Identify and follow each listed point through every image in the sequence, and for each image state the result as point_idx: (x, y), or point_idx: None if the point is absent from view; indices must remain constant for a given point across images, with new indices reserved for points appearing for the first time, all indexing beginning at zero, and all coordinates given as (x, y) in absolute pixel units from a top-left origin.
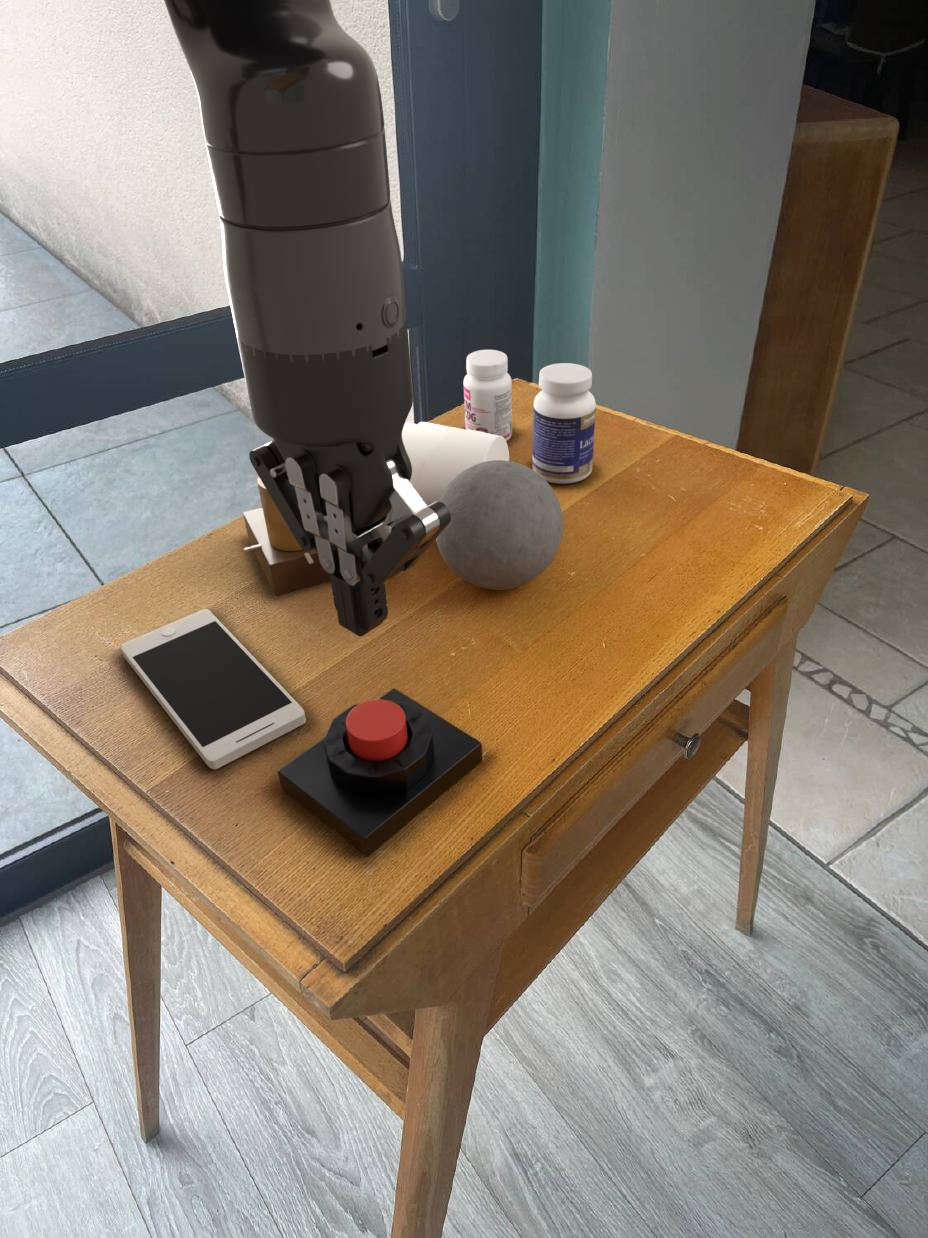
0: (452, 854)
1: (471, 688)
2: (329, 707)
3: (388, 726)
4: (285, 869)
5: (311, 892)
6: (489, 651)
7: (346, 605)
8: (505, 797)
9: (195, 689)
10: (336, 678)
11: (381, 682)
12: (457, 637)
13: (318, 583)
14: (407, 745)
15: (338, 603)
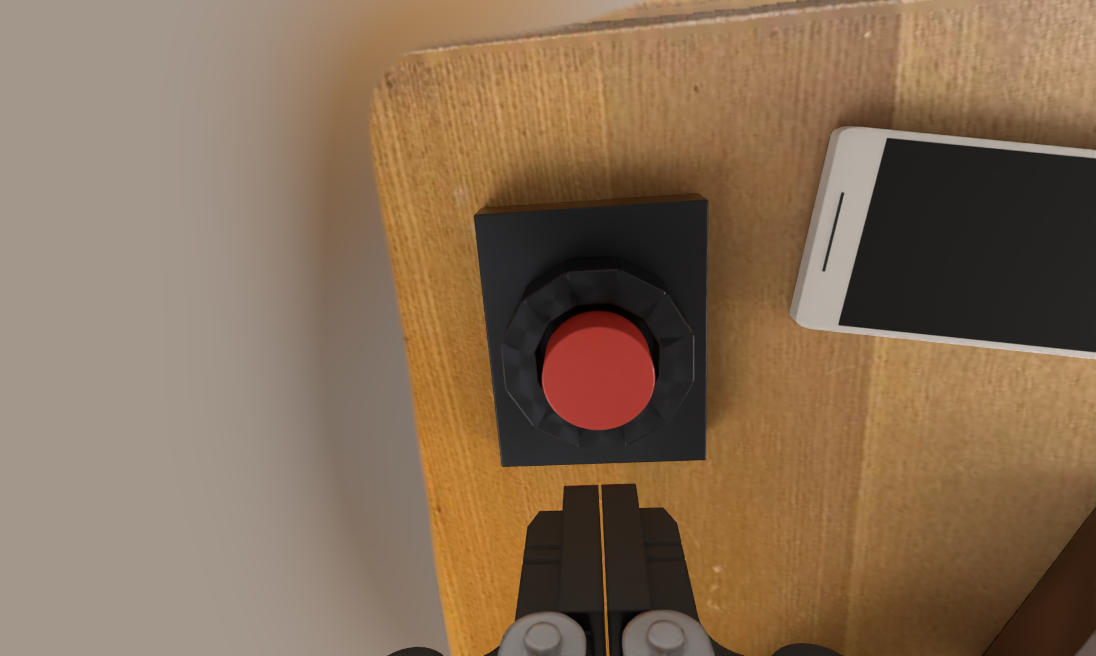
0: (402, 300)
1: None
2: (788, 365)
3: (565, 384)
4: (555, 96)
5: (488, 100)
6: None
7: (588, 541)
8: (432, 420)
9: (1034, 216)
10: (834, 416)
11: (761, 458)
12: (740, 597)
13: (1064, 551)
14: None
15: (627, 533)
